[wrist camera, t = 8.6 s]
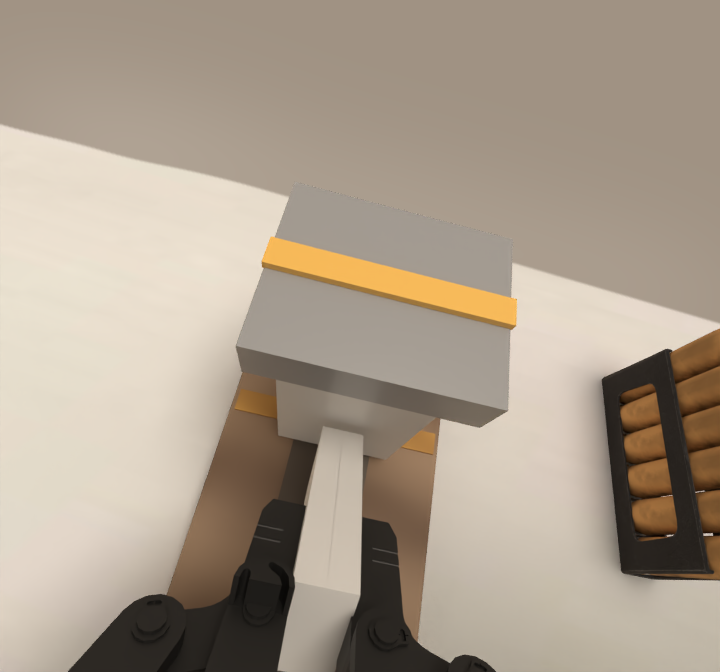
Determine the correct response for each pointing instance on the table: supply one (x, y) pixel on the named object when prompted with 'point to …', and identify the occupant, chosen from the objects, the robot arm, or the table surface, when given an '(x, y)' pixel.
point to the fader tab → (379, 321)
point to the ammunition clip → (667, 461)
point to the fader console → (296, 498)
